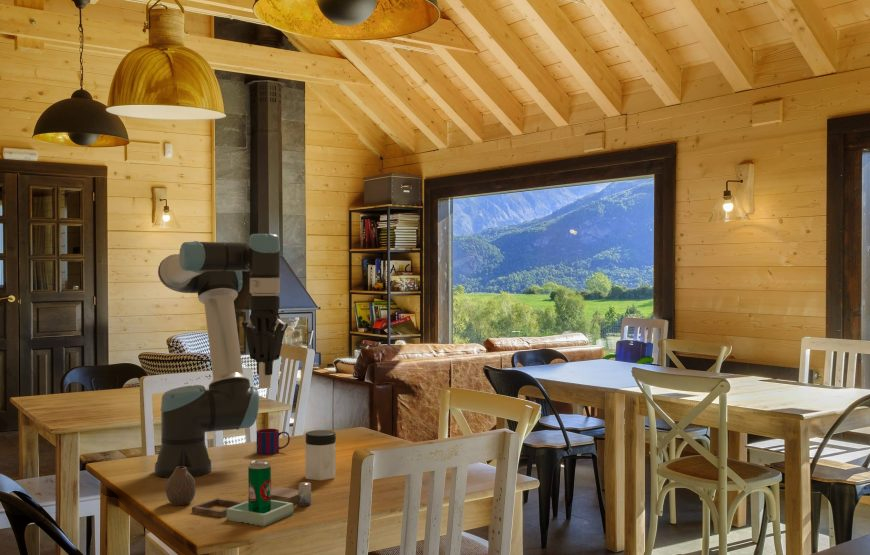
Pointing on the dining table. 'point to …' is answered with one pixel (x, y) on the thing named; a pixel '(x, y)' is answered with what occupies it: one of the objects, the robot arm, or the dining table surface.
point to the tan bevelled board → (284, 495)
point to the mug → (269, 441)
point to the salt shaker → (304, 494)
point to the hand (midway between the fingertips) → (264, 387)
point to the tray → (276, 513)
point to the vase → (180, 487)
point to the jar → (320, 455)
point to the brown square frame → (204, 506)
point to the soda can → (259, 486)
